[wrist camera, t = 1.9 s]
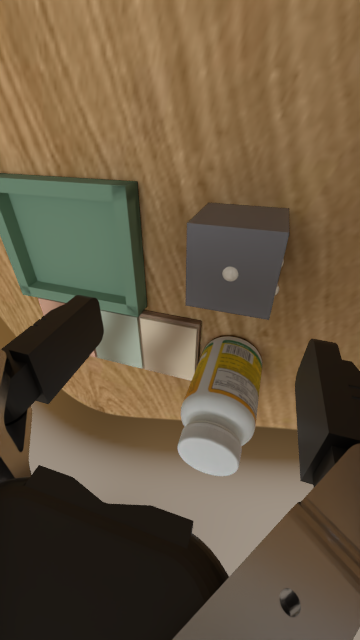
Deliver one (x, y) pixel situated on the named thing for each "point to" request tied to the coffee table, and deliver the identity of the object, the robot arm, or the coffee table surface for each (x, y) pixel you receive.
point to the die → (235, 258)
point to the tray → (75, 239)
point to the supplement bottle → (221, 406)
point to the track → (147, 341)
